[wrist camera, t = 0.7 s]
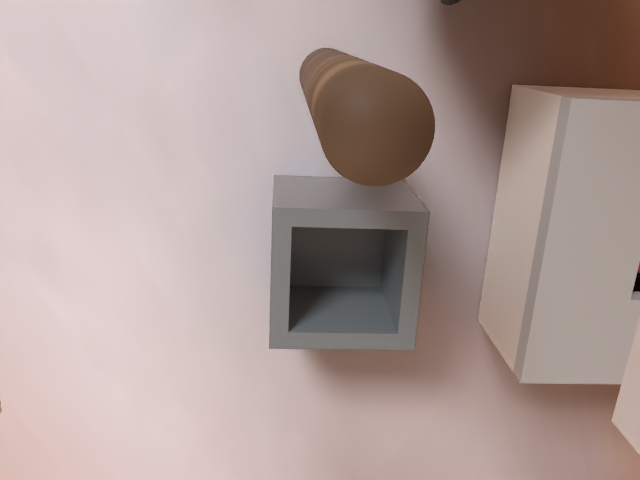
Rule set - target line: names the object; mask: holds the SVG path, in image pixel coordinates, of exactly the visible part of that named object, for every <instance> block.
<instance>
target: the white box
mask: <svg viewBox="0 0 640 480" xmlns="http://www.w3.org/2000/svg"><path fill="white" fill-rule="evenodd" d="M639 262H640V90H625V89H603V88H580V87H558V86H536V85H514V84H513V85H512V91H511V98H510V105H509V112H508V118H507V125H506V132H505V139H504V145H503V152H502V159H501V166H500V172H499V179H498V186H497V193H496V200H495V206H494V213H493V220H492V227H491V233H490V240H489V247H488V254H487V260H486V267H485V274H484V281H483V288H482V294H481V301H480V308H479V315H478V321H479V323H480V324H481V326H482V327H483V329H484V330H485V332H486V333H487V335H488V336H489V337H490V339H491V340H492V342H493V343H494V345H495V346H496V348H497V349H498V351H499V352H500V354H501V355H502V357H503V358H504V360H505V361H506V363H507V364H508V366H509V367H510V369H511V370H512V372H513V373H514V375H515V376H516V378H517V379H518V381H519V382H520V383H531V384H622V380H623V377H624V373H625V369H626V366H627V362H628V358H629V355H630V351H631V347H632V344H633V340H634V336H635V333H636V329H637V325H638V322H639V318H640V292H633V288H634V284H635V279H636V275H637V271H638V267H639Z"/></svg>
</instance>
